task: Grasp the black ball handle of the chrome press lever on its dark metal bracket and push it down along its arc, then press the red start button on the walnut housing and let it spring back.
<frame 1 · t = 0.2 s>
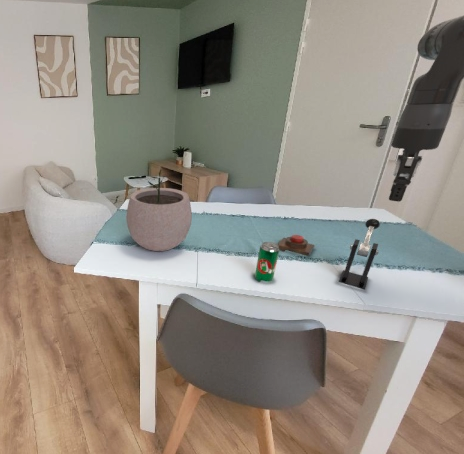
hand: (395, 196, 70), 29 cm above the table, tool pointing down, fingers open, 8 cm apart
start button: (297, 239, 104), point 4 cm above the table, slide at 0.1 cm
lever bracket: (352, 282, 86), on the table
button housing: (294, 250, 106), on the table
plant pot: (157, 246, 114), on the table
soda can: (263, 280, 90), on the table
press lever: (368, 236, 84), point 13 cm above the table, hinge at 25.0°
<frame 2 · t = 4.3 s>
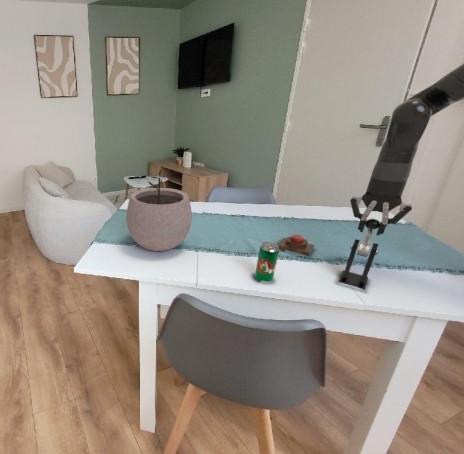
hand: (369, 232, 88), 13 cm above the table, tool pointing down, fingers closed on press lever, 3 cm apart
press lever: (368, 236, 84), point 13 cm above the table, hinge at 24.9°, touching gripper
everything else where it was.
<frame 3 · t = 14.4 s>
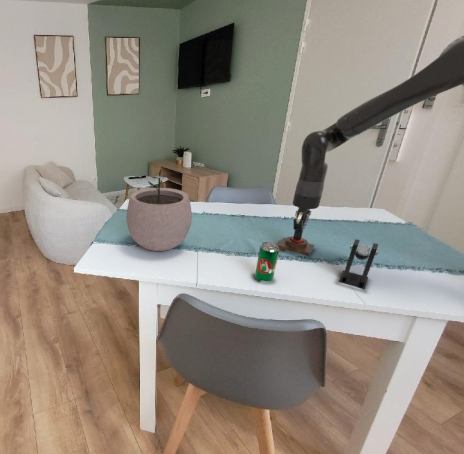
hand: (296, 238, 104), 5 cm above the table, tool pointing down, fingers closed
start button: (296, 241, 105), point 4 cm above the table, slide at -0.7 cm, touching gripper
press lever: (362, 252, 86), point 8 cm above the table, hinge at -30.5°
everything else where it was.
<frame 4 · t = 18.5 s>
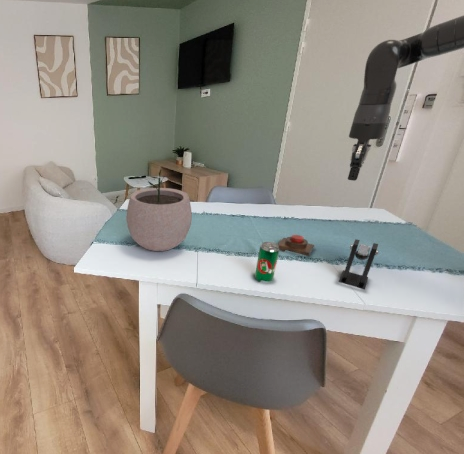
hand: (352, 179, 91), 27 cm above the table, tool pointing down, fingers closed
start button: (297, 239, 104), point 4 cm above the table, slide at 0.1 cm
everything else where it was.
at the end: press lever at -30° (first picture: +25°); start button pushed in 1.0 cm at the most during the clip, back to where it started at the end; start button slide at 0.1 cm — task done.
